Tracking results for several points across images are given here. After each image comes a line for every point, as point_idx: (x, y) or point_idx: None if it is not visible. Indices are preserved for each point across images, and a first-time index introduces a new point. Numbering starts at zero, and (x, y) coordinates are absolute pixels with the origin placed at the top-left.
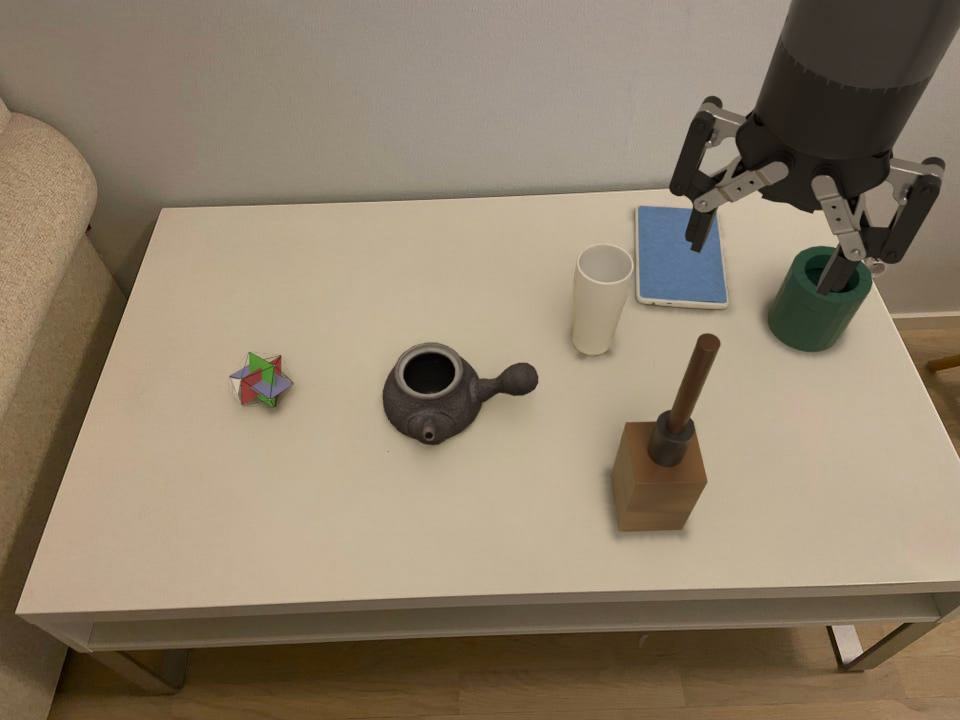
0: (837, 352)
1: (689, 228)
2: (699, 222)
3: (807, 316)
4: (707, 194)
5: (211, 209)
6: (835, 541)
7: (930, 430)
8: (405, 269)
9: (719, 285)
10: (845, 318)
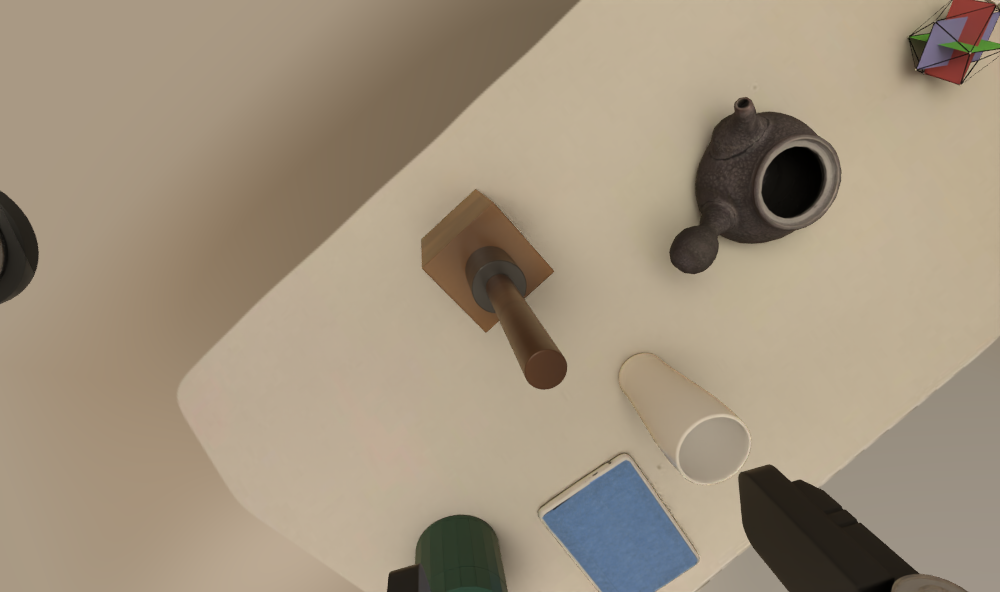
0: (407, 543)
1: (838, 512)
2: (854, 542)
3: (456, 558)
4: None
5: None
6: (282, 342)
7: (277, 524)
8: (883, 307)
9: (561, 531)
10: None
